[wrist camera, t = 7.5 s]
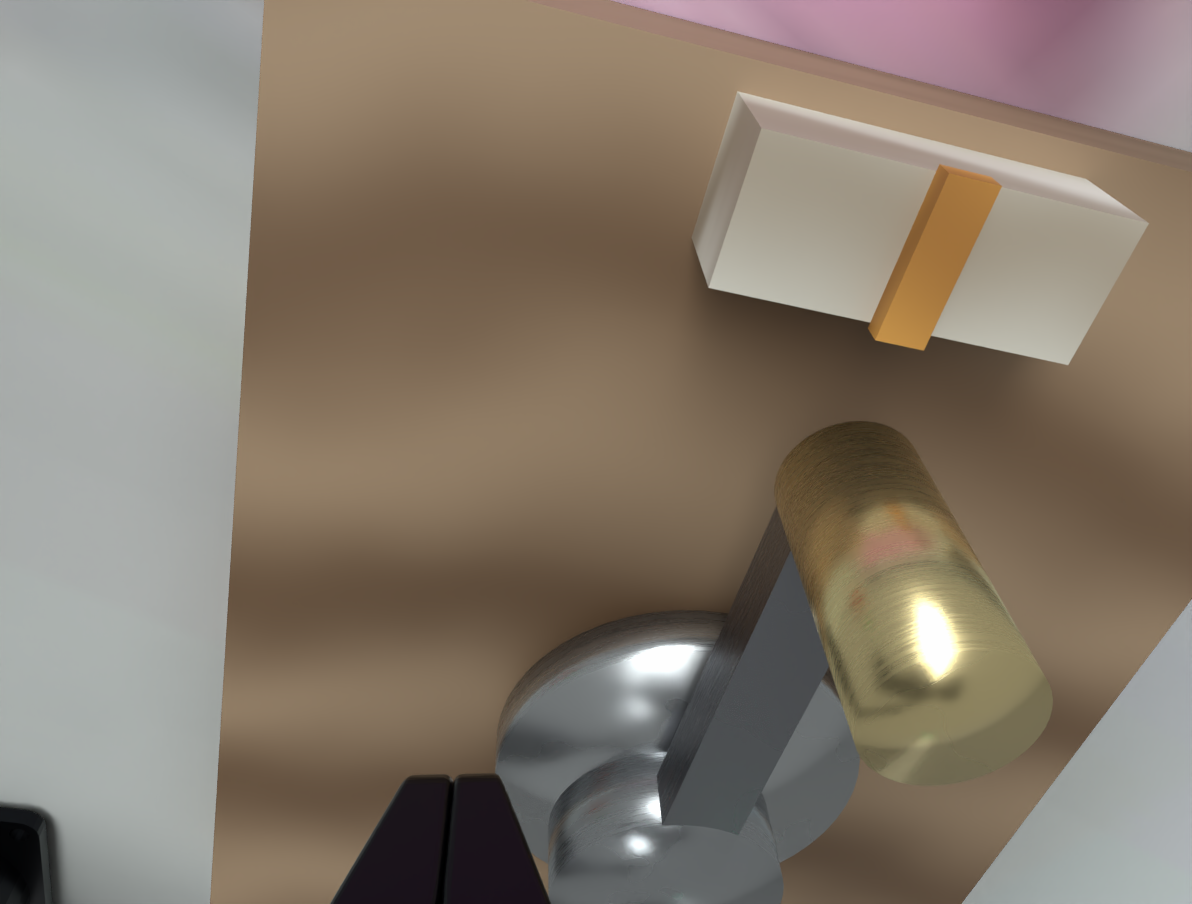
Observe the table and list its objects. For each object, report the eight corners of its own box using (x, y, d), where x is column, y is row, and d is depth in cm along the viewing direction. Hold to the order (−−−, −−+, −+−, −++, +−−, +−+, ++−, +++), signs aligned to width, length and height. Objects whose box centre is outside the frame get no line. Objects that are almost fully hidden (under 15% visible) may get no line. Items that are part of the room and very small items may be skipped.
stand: (881, 921, 31) (926, 1070, 28) (228, 853, 28) (181, 1012, 24) (1379, 202, 19) (1583, 301, 15) (297, -81, 15) (221, -42, 12)
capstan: (774, 863, 26) (844, 1191, 20) (467, 826, 24) (442, 1166, 18) (1044, 400, 18) (1291, 701, 12) (622, 307, 17) (666, 595, 11)
